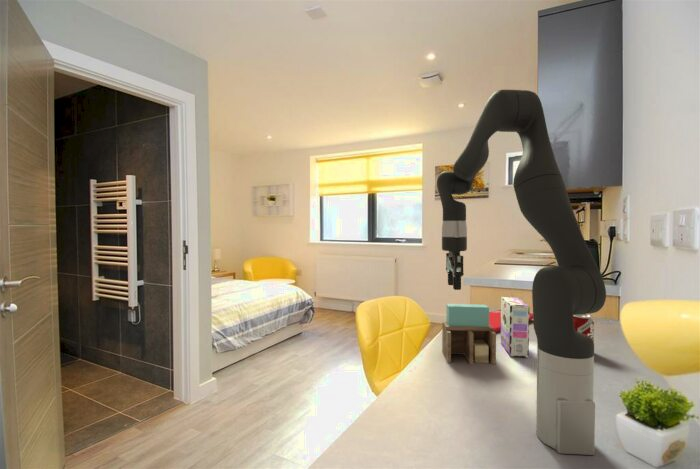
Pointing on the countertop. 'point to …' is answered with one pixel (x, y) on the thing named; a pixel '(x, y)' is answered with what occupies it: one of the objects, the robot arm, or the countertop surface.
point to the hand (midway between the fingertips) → (454, 287)
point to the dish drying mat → (499, 320)
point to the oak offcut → (480, 351)
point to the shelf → (467, 341)
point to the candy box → (515, 327)
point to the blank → (467, 315)
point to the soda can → (584, 325)
